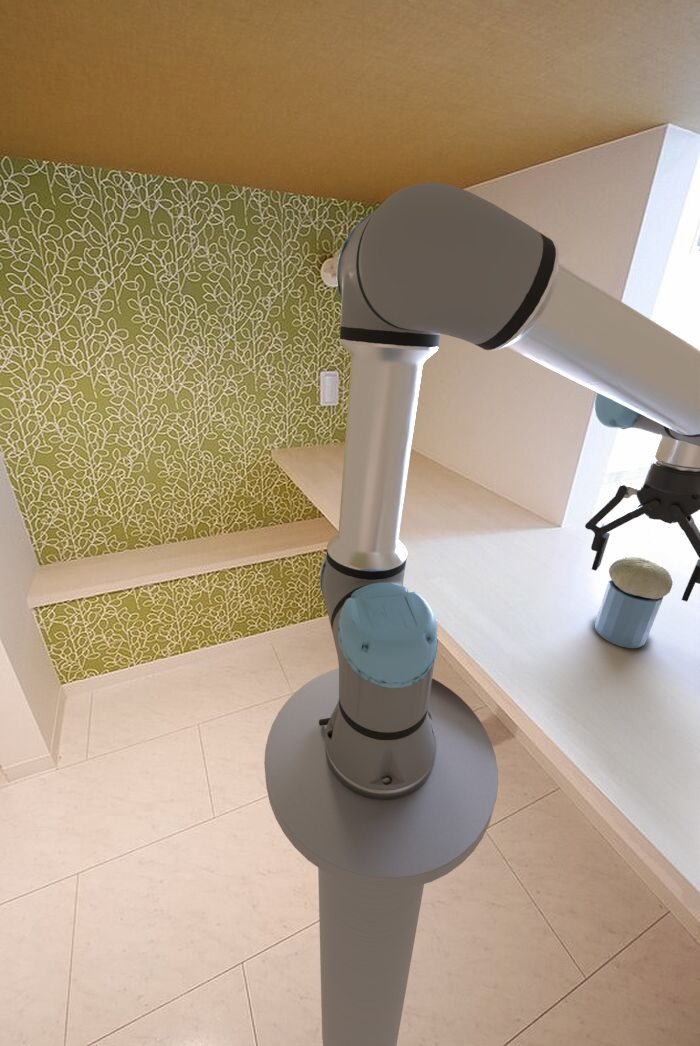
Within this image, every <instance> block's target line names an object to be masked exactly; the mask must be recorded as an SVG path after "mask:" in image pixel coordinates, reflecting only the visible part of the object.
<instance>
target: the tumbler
mask: <svg viewBox="0 0 700 1046" xmlns="http://www.w3.org/2000/svg"><path fill="white" fill-rule="evenodd" d="M663 599H664V597H662V598H659V599H650V598H644V597H641V596H634V595H632V594H629V593H626V592H624V591H622V590H621V589H620V588H619V587H617V586H615V584H614V582H613V581H612V580H611V577H609V579H608V582H607V585H606V587H605V591H604V594H603V598H602V600H601V604H600V606H599V608H598V609H599V610H598V612H597V616H596V619H595V622H594V628H595V631H596V632H597V634H598V635H600V637H601V638H603V639H604V640H606V641H608V642H609V643H611V644H614V645H616V646H619V647H622V648H627V649H638V648H641V647H643V646H644V645H645V644H646V642H647V640H648V637H649V635H650V632H651V630H652V626H653V625H654V622H655V620H656V617H657V615H658V612H659V610H660V607H661V605H662V603H663Z"/></svg>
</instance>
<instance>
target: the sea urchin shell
mask: <svg viewBox="0 0 700 1046" xmlns="http://www.w3.org/2000/svg"><path fill="white" fill-rule="evenodd" d="M608 569H609V570H608V574H609V578H611V580H612V581H613V582H614V584H615V586H617V587H619V588H620V589H621V590H622V591H624V592H626V593H629V594H632V595H634V596H641V597H644V598H650V599H659V598H662V597H663V598H665V596H667V595H669V594H670V592H671V590H672V588H673V585H674V584H673V579H672V576H671V574H670V572H669V571H668V570H667V569H666V568H664V567H663V566H662V565H661V566H660V565H659V564H657V563H655V562H652V561H650V560H648V559H645V558H642V557H634V556H631V557H625V558H620V559H617V560H616V561H613V562H612V564H611V565H610V566H609V568H608Z"/></svg>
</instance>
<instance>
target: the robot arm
mask: <svg viewBox="0 0 700 1046" xmlns="http://www.w3.org/2000/svg"><path fill="white" fill-rule="evenodd" d="M559 255H560V253H559V248H558V245H557V243H556V242H555V241H554V240H553V239H551V238H550V237H548V236H546V235H544V234H543V233H542V232H540V231H539V230H536V229H535V228H534V227H532V226H531V225H530V224H528V223H526V222H525V221H523V220H521V219H519V218H518V217H516V216H514V215H513V214H511V213H510V212H508V211H506V210H504V209H502V208H501V207H499V206H498V205H496V204H494V203H492V202H491V201H489V200H487V199H484V198H482V197H481V196H479V195H477V194H475V193H472V192H470V191H468V190H466V189H463V188H460V187H458V186H455V185H450V184H447V183H443V182H419V183H414V184H411V185H409V186H406V187H403V188H401V189H399V190H398V191H396V192H394V193H393V194H391V195H390V196H389V197H387V198H386V199H385V200H383V202H382V203H381V204H380V205H379V206H378V207H377V208H376V209H375V210H374V211H373V212H371V213H369V214H367V215H366V216H364V217H363V218H362V219H361V220H360V221H359V222H357V224H356V225H355V226H354V227H353V228H352V230H351V231H349V234H348V235H347V237H346V239H345V241H344V244H343V245H342V247H341V250H340V252H339V256H338V260H337V265H336V284H337V291H338V295H339V299H340V302H341V305H340V320H339V321H340V322H339V338H338V339H339V343H340V344H341V346H342V347H343V349H344V350H345V351H346V352H347V353H348V355H349V357H350V368H349V381H348V395H347V396H348V397H347V407H346V408H347V410H346V422H345V423H346V425H345V437H344V439H345V440H344V450H343V451H344V452H343V466H342V481H341V492H340V506H339V507H340V508H339V519H338V520H339V521H338V524H339V525H338V533H337V534H335V535H334V536H332V537H331V538H330V539H329V540H328V542H327V544H326V555H325V557H324V559H323V561H322V564H321V568H320V575H319V586H320V590H321V594H322V598H323V599H324V603H325V607H326V612H327V617H328V620H329V624H330V629H331V632H332V637H333V642H334V645H335V650H336V654H337V655H336V656H337V662H338V668H339V701H338V703H337V705H336V707H335V709H334V711H333V713H332V716H331V718H326V719H320V720H319V725H320V726H323V725H327V728H326V733H325V752H326V758H327V761H328V764H329V766H330V768H331V770H332V772H333V773H334V775H335V776H336V778H337V779H338V780H339V781H340V782H341V783H342V784H343V785H344V786H345V787H347V788H348V789H350V790H351V791H353V792H355V793H356V794H358V795H361V796H363V797H367V798H370V799H375V800H393V799H398V798H402V797H405V796H407V795H409V794H411V793H413V792H415V791H416V790H417V789H419V788H420V787H421V786H422V785H423V784H424V783H425V782H426V780H427V779H428V777H429V776H430V774H431V772H432V769H433V766H434V762H435V755H436V737H435V733H434V730H433V727H432V725H431V722H430V719H429V717H430V718H431V720H432V717H431V715H430V713H429V712H428V711H427V710H428V703H429V696H430V689H431V682H432V678H433V674H434V670H435V669H434V668H435V661H436V659H437V653H438V648H439V647H438V646H439V640H438V622H437V618H436V615H435V612H434V611H433V609H432V607H431V606H430V604H429V602H428V601H427V600H425V598H424V597H422V596H421V595H420V594H419V593H417V592H416V591H412V592H411V591H410V592H409V588H408V587H406V586H404V580H405V579H404V578H405V572H406V567H407V557H408V550H407V548H406V546H405V544H403V543H402V542H401V540H400V539H399V538H400V533H401V532H400V530H401V524H402V515H403V509H404V501H405V495H406V487H407V480H408V473H409V466H410V458H411V452H412V451H411V450H412V444H413V436H414V430H415V422H416V414H417V407H418V402H419V401H418V399H419V392H420V385H421V379H422V371H423V365H424V363H426V361H427V360H428V359H429V358H430V357H432V356H433V355H434V354H435V353H436V352H437V351H438V349H439V344H440V338H441V335H444V336H449V337H453V338H456V339H459V340H463V341H466V342H468V343H470V344H473V345H474V346H476V347H479V348H481V349H483V350H484V351H487V352H496V351H498V350H501V349H503V348H505V347H506V348H507V349H509V350H511V351H514V352H516V353H517V354H519V355H521V356H523V357H526V358H527V359H530V360H532V361H534V362H536V363H537V364H540V365H542V366H543V367H545V368H547V369H549V370H551V371H553V372H556V373H558V374H560V375H561V376H563V377H565V378H568V379H570V380H571V381H574V382H576V383H577V384H579V385H582V386H583V387H585V388H588V389H590V390H591V391H594V392H596V395H595V399H594V402H593V407H594V413H595V416H596V418H597V420H598V422H599V423H601V424H602V425H603V426H605V427H607V428H612V429H613V428H614V429H621V430H627V429H631V428H632V429H638V430H642V431H646V432H650V433H652V434H655V435H659V437H658V440H657V443H656V446H655V449H654V452H653V456H652V457H653V458H654V459H653V460H652V461H651V462H650V464H649V467H648V470H647V473H646V476H645V479H644V483H643V485H642V486H641V487H638V486H635V485H632V484H631V483H630V482H629V481H624V482H622V484H620V486H619V487H618V489H617V491H616V492H615V495H614V496H613V497H612V498H611V499H610V500H609V501H608V502H607V503H606V504H605V505H604V506H603V507H602V508H601V509H600V510H598V511H597V512H596V513H595V514H594V515H593V517H591V518H589V520H588V521H587V522H586V523H585V525H584V527H585V529H586V530H590V531H592V533H593V534H594V536H593V539H592V543H591V546H590V548H591V549H590V550H591V551H594V552H596V553H595V556H594V559H593V563H592V567H591V570H592V571H597V570H598V569H599V567H600V566H601V564H602V561H603V557H604V554H605V551H606V548H607V545H608V541H609V537H610V535H611V534H610V532H611V531H613V530H615V529H617V528H618V527H620V526H622V525H624V524H626V523H628V522H631V521H632V520H634V519H636V518H639V517H641V516H643V515H646V516H647V517H648V519H650V520H658V521H659V520H660V521H662V522H664V523H665V524H676V523H677V524H678V526H679V527H680V529H681V530H682V531H683V532H684V534H685V536H686V537H687V539H688V542H689V544H691V546H692V549H694V551H695V553H696V555H697V556H698V559H697V561H696V564H695V566H694V568H693V570H692V572H691V575H690V578H689V580H688V582H687V585H686V587H685V589H684V592H683V594H682V597H681V601H683V602H686V603H687V602H688V601H689V599H690V597H691V594H692V591H693V589H694V587H695V585H696V584H699V585H700V530H699V528H698V526H697V525H696V522H695V520H694V518H693V516H692V515H694V514H695V513H697V512H699V511H700V349H698V348H696V347H695V346H694V345H692V344H690V343H688V342H687V341H685V340H684V339H682V338H681V337H679V336H678V335H676V334H674V333H673V332H671V331H669V330H668V329H666V328H665V327H663V326H662V325H659V324H658V323H657V322H655V321H653V320H652V319H650V318H649V317H647V316H645V315H644V314H642V313H640V312H639V311H637V310H636V309H634V308H633V307H631V306H630V305H627V304H626V303H624V302H623V301H621V300H619V299H618V298H617V297H616V296H613V295H611V294H610V293H608V292H607V291H605V290H604V289H602V288H600V287H599V286H597V285H596V284H594V283H592V282H591V281H589V280H587V279H586V278H584V277H583V276H581V275H579V274H578V273H576V272H575V271H573V270H571V269H570V268H568V267H566V265H563V264H562V263H561V262H559V257H560V256H559ZM634 495H635V496H636V498H637V500H638V503H639V504H637V505H635V506H634V507H632V508H630V509H628V510H626V511H625V512H622V513H621V514H619V515H617V516H616V517H614V518H612V519H610V520H608V521H606V522H604V523H603V524H601V523H600V521H601V520H603V519H604V518H605V517H606V516H607V515H608V514H609V513H610V512H611V511H613V509H615V508H616V507H617V506H618V505H619V504H620V503H621V502H622V501H623V499H629V498H631V497H632V496H634Z"/></svg>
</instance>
